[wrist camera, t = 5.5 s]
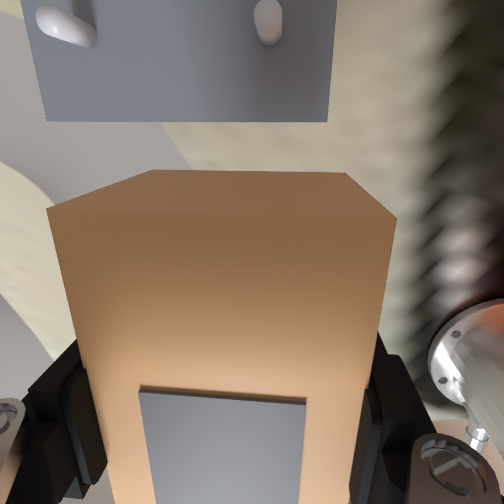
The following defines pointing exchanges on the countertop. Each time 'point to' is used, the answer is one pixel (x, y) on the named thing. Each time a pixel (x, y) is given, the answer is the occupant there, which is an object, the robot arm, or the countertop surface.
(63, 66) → the pin tray
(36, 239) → the countertop surface
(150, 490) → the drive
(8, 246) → the countertop surface
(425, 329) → the countertop surface
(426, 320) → the countertop surface
